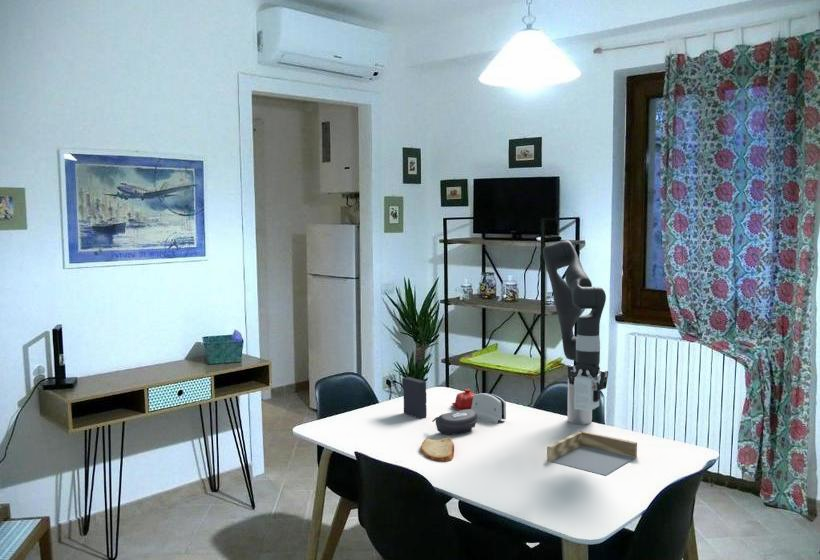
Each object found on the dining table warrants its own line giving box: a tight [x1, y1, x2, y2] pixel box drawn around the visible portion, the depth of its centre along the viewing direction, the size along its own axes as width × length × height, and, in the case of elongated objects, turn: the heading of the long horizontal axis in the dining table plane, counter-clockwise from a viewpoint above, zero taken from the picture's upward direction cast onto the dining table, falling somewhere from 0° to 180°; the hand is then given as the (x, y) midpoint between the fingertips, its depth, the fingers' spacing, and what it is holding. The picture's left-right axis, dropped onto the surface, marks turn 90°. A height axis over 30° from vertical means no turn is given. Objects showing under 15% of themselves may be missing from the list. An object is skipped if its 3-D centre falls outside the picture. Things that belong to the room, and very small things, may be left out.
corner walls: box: [546, 430, 638, 463], centre depth 225 cm, size 22×20×5 cm
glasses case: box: [431, 409, 479, 435], centre depth 256 cm, size 18×10×8 cm, turn 124°
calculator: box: [401, 376, 428, 420], centre depth 278 cm, size 11×4×15 cm, turn 39°
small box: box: [574, 374, 600, 411], centre depth 223 cm, size 8×6×10 cm
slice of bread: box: [420, 436, 455, 463], centre depth 234 cm, size 18×18×4 cm
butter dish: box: [451, 388, 477, 411], centre depth 289 cm, size 12×12×8 cm
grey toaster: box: [471, 392, 507, 424], centre depth 274 cm, size 17×5×10 cm, turn 38°
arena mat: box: [550, 446, 636, 477], centre depth 225 cm, size 21×19×1 cm
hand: (587, 399), depth 223 cm, fingers closed on small box, 6 cm apart
